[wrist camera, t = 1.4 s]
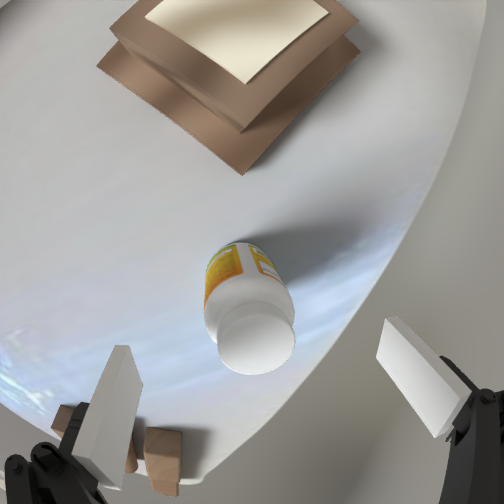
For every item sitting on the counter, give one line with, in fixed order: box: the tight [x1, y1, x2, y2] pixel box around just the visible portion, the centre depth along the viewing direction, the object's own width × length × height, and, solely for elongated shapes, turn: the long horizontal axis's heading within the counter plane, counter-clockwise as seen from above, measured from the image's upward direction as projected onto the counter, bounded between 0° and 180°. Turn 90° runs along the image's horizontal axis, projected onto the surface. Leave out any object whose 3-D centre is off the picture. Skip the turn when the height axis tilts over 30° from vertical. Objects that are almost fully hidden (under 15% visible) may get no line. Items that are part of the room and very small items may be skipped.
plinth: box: [97, 0, 361, 176], centre depth 13 cm, size 14×14×7 cm
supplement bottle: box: [204, 243, 296, 375], centre depth 18 cm, size 5×5×10 cm
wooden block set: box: [51, 405, 182, 497], centre depth 27 cm, size 17×6×18 cm
